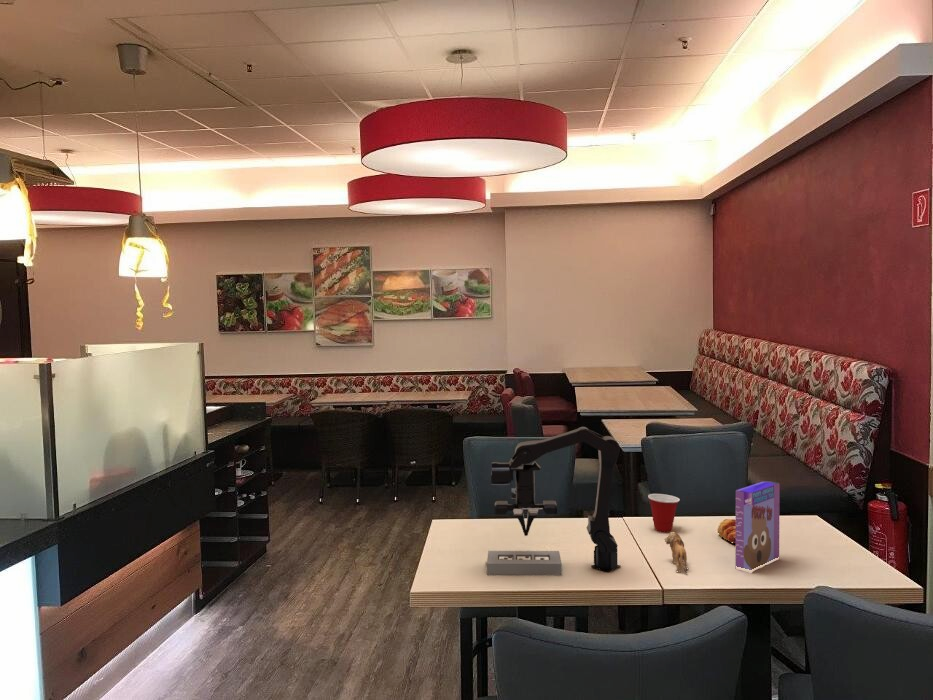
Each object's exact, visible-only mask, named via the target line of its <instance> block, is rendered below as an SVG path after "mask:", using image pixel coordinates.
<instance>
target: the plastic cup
mask: <svg viewBox="0 0 933 700" xmlns="http://www.w3.org/2000/svg"><path fill="white" fill-rule="evenodd" d="M647 497H648V500H649V503H650V505H649V506H650V511H651V514H652V515H651V516H652V521H653V522H652V523H653V527H654V531H655V532H659V533H670V531H671V530H673V527H674V521H675V516H676V512H677V511H676V510H677V507H678V503H679V502H680V500H681V499H680V498H679V497H677V496H674V495H669V494H664V493H649V494H648V496H647ZM671 532H672V531H671Z"/></svg>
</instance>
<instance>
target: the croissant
mask: <svg viewBox="0 0 933 700" xmlns="http://www.w3.org/2000/svg"><path fill="white" fill-rule="evenodd" d="M718 533H719V534H720V535H719V534H718ZM717 534H718V535H719V536H720V538H722V537H723V538H724V539H723V540H725V539H726V540H725V541H727V540H728V541H730V542H733V543H735V544H736V518H724V519H723V520H722V521H721V522H720V523H719V525H718V527H717ZM728 541H727V542H728ZM730 542H729V543H730ZM733 543H732V544H733Z"/></svg>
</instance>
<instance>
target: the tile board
mask: <svg viewBox="0 0 933 700" xmlns="http://www.w3.org/2000/svg"><path fill="white" fill-rule="evenodd" d="M508 556H511V557H512V560H499V557H508ZM517 556H530V558H531V560H517ZM535 557H549V560H535ZM561 558H562V557H561V553H560V550H488V551H487V558H486V559H487V560H486V575H487V576H489V575H490V576H562V575H563V573H562V572H563V571H562V570H563V568H562V567H563V566H562V559H561Z"/></svg>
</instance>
